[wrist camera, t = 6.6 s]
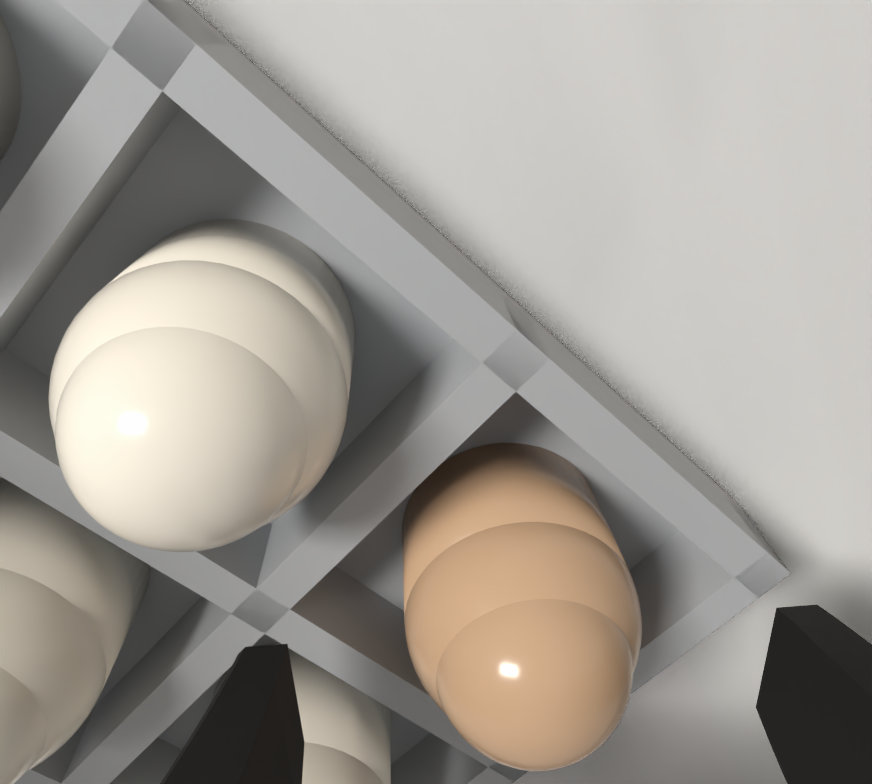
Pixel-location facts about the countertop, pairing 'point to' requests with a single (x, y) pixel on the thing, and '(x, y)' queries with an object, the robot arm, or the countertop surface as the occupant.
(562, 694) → the brown egg
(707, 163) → the countertop surface
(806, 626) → the robot arm
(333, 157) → the egg carton
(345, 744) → the cream eggs
